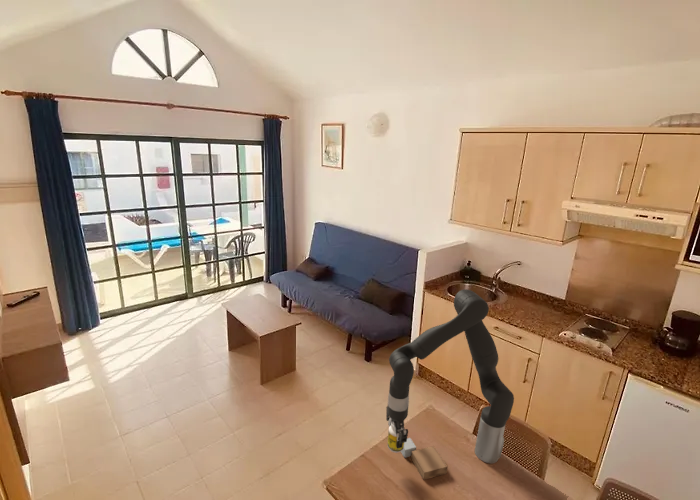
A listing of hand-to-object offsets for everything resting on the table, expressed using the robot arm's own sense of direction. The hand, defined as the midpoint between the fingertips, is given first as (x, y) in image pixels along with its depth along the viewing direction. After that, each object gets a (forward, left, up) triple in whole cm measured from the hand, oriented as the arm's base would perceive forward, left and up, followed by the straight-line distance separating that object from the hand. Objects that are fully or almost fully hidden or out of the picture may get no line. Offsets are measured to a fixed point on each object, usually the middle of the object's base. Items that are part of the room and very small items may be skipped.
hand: (395, 440), depth 137 cm
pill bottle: (0, 0, -3) cm, 3 cm away
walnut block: (-14, +3, -13) cm, 19 cm away
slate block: (-9, -5, -13) cm, 16 cm away
